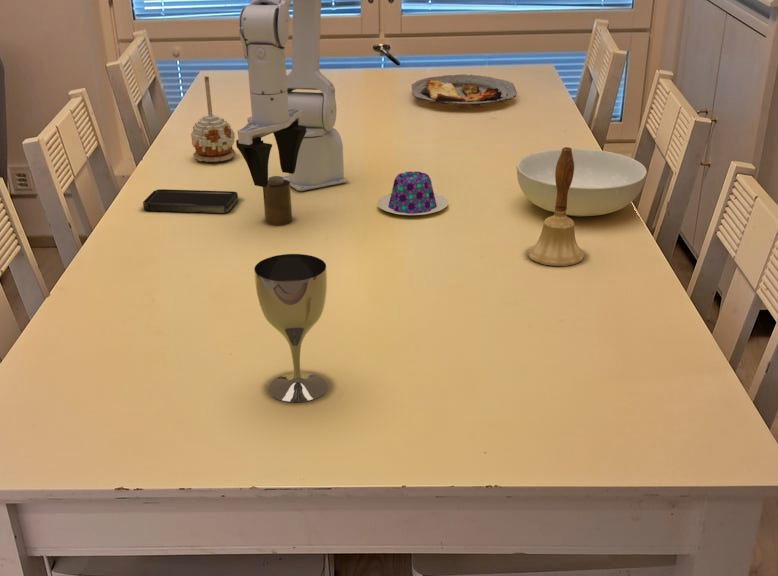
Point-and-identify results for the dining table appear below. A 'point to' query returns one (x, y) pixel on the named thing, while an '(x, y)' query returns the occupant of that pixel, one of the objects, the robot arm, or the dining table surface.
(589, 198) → the serving bowl
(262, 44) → the robot arm
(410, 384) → the dining table surface
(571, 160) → the hand bell
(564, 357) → the dining table surface
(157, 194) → the phone
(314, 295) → the wine glass
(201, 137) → the caramel apple
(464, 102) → the food plate
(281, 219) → the salt shaker
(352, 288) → the dining table surface
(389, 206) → the pudding
